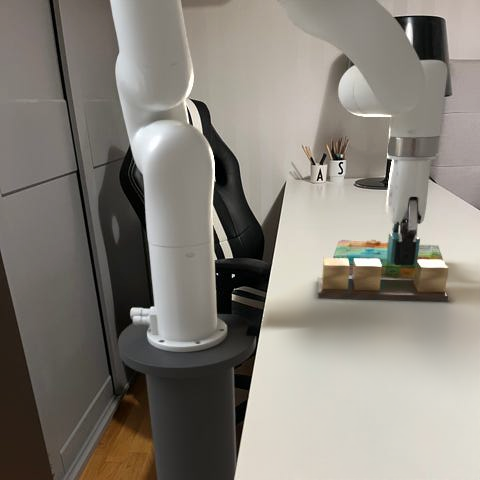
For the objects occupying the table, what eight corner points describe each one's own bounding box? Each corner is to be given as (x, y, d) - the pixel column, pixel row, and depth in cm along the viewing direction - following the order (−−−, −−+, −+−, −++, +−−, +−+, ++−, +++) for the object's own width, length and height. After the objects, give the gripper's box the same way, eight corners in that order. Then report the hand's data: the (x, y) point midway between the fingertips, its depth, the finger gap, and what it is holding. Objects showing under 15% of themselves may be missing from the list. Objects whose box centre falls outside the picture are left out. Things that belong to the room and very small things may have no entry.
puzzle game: (338, 236, 106) (439, 241, 101) (337, 258, 108) (435, 263, 103) (333, 251, 96) (444, 257, 91) (332, 275, 98) (441, 282, 93)
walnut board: (318, 298, 87) (318, 292, 86) (317, 282, 94) (318, 277, 93) (447, 301, 84) (448, 296, 83) (437, 285, 91) (437, 280, 91)
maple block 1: (322, 289, 88) (323, 265, 86) (321, 280, 92) (323, 257, 90) (347, 289, 87) (349, 265, 85) (346, 281, 91) (347, 258, 89)
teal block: (390, 264, 84) (392, 239, 83) (386, 256, 88) (388, 232, 87) (417, 264, 84) (420, 239, 82) (412, 257, 88) (415, 232, 86)
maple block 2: (353, 290, 87) (355, 265, 85) (351, 281, 91) (353, 258, 89) (379, 290, 86) (382, 266, 85) (376, 282, 90) (378, 258, 89)
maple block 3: (418, 291, 86) (421, 267, 84) (413, 283, 90) (416, 259, 88) (444, 292, 85) (448, 267, 83) (438, 283, 89) (442, 260, 87)
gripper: (381, 144, 87) (373, 246, 94) (396, 154, 72) (385, 275, 79) (426, 143, 86) (414, 246, 93) (451, 153, 71) (434, 276, 78)
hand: (401, 259), depth 86 cm, fingers closed on teal block, 4 cm apart
